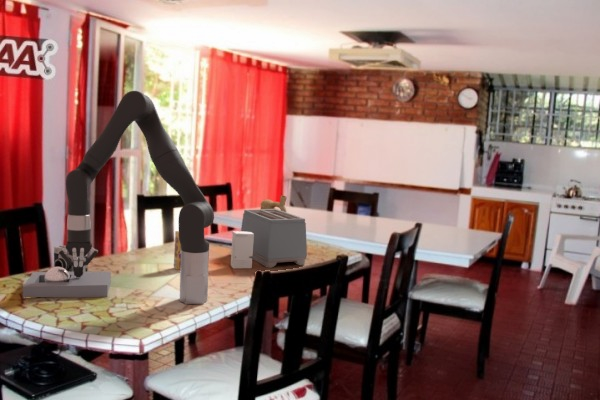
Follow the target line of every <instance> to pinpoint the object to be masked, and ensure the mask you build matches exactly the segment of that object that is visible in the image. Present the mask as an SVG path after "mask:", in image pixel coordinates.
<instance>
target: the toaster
mask: <svg viewBox="0 0 600 400" xmlns="http://www.w3.org/2000/svg"><path fill="white" fill-rule="evenodd" d="M243 211H244V212H243V214H242V220H241V228H240V231H244V232H252V233H253V234H254V242H253V255H252V261H255V262H257V263H259V264H261V265H262V266H263V267H266V268H269V269H270V268H274V267H275V266H277V264H278V263H290V262H292V263H293V262H294V263H293V264H295V263H296V265H298V266H304V265H305V264H306V263H305V261H306V260H307V256H308V250H307V249H308V248H307V247H308V246H307V245H308V242H307V223H306V218H305V217H304V218H303V217H300V216H298V215H295V214H293V213H289V212H287V211H286V212H284V211H281V210H280V209H279V208H278V209H277V208H276V209H261V208H260V209H259V208H258V209H257V208H256V209H244V210H243Z"/></svg>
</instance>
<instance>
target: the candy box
mask: <svg viewBox="0 0 600 400" xmlns="http://www.w3.org/2000/svg"><path fill="white" fill-rule="evenodd" d="M174 235H175V236H174V255H173V268H174V269H175V270H176V271H178V270H180V267H181V244H180V241H179V230H176V231H175V234H174Z"/></svg>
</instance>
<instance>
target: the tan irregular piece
mask: <svg viewBox="0 0 600 400" xmlns="http://www.w3.org/2000/svg"><path fill="white" fill-rule="evenodd" d="M287 198H288V197H287V196H285V195H281V196H280V201H273V200H272V199H263V200H262V201H261V202H260V209H277V208H278V209H279V210H281V211H284V212H287V208H286V206H285V205H286V202H287ZM276 207H277V208H276Z"/></svg>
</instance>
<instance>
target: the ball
mask: <svg viewBox="0 0 600 400" xmlns="http://www.w3.org/2000/svg"><path fill="white" fill-rule="evenodd" d="M46 272H47V273H46V274H45V278H44V280H45V283H49V282H69V280H70V275H69V273H68V271H67V270H66V269H64V268H62V267H54V266H53V267H51V268H49V269H48V270H47V271H46Z"/></svg>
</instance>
